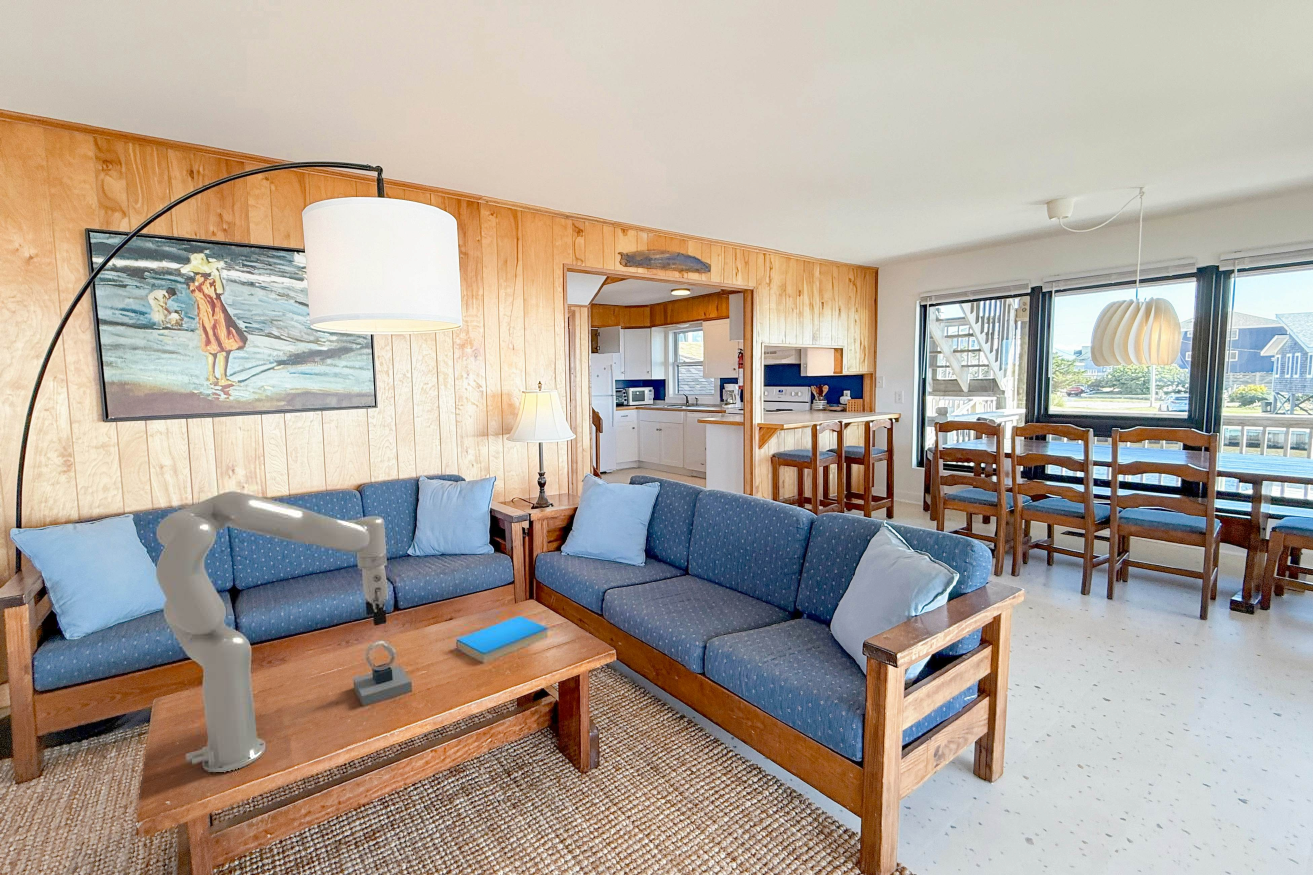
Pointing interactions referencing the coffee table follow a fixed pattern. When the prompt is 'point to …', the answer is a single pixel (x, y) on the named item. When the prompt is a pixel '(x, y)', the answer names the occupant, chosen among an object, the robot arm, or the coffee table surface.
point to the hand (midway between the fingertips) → (376, 618)
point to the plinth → (382, 687)
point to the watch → (382, 671)
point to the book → (501, 639)
